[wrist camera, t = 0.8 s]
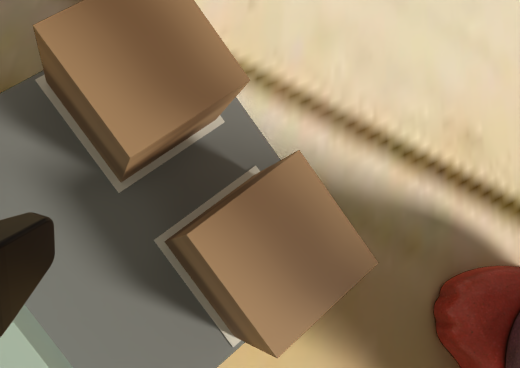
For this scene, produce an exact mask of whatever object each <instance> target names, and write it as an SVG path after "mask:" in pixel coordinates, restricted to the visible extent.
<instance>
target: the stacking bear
mask: <svg viewBox="0 0 520 368" xmlns="http://www.w3.org/2000/svg"><path fill="white" fill-rule="evenodd" d="M434 316H435V319H436V329H437V334H438V337H439V339H440V341H441V342H442V344H443V345H444V347H445V348H446V349H447V350H448V351H449V352H450V353H451V354H452V356H453V357H454V358H455V359H456V361H457V362H458V364H459V365H460V367H461V368H520V267H512V266H490V267H482V268H477V269H473V270H470V271H467V272H464V273H461V274H459V275H457V276H455V277H453V278H451V279H450V280H448V281H447V282H446V283H445V284H444V285H443V286H442V288H441V290H440V295H439V298H438V299H437V301H436V302H435V306H434Z"/></svg>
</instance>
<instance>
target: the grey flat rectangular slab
mask: <svg viewBox="0 0 520 368" xmlns="http://www.w3.org/2000/svg"><path fill="white" fill-rule="evenodd" d="M278 161H280V158H279V157H278V156H277V154H276V153H275V151H274V150H273V149H272V147H271V146H270V144H269V143H268V142H267V140H266V139H265V137H264V136H263V134H262V133H261V132H260V130H259V129H258V127H257V126H256V125H255V123H254V122H253V120H252V119H251V118H250V116H249V115H248V113H247V112H246V110H245V109H244V108H243V106H242V105H241V103H240V102H239V101H238V99H237V98H236V97H235V98H234V99H233V101H232V102H231V103H230V104H229V105H228V106H227V107H226V109H225V110H224V111H223V112H222V113H221V114H220V115H219V117H218V118H217V119H216V120H215V121H213V122H212V123H210V124H209V125H207V126H206V127H204V128H203V129H201V130H200V131H198V132H197V133H195V134H194V135H192V136H191V137H189V138H188V139H186V140H185V141H183V142H182V143H180V144H179V145H177V146H176V147H174V148H173V149H171V150H169V151H168V152H166V153H165V154H163V155H162V156H160V157H159V158H157V159H156V160H154V161H153V162H151V163H150V164H148V165H147V166H145V167H144V168H142V169H141V170H139V171H138V172H136V173H135V174H133V175H132V176H130V177H129V178H127V179H126V180H124V181H123V182H120V181H119V180H118V178H117V177H116V176H115V174H114V173H113V172H112V170H111V169H110V168H109V166H108V165H107V163H106V162H105V161H104V159H103V158H102V157H101V155H100V154H99V153H98V151H97V150H96V149H95V147H94V146H93V145H92V143H91V142H90V140H89V139H88V138H87V136H86V135H85V134H84V132H83V131H82V130H81V128H80V127H79V126H78V124H77V123H76V122H75V120H74V119H73V117H72V116H71V115H70V113H69V112H68V111H67V109H66V108H65V107H64V105H63V104H62V103H61V101H60V100H59V99H58V97H57V96H56V94H55V93H54V92H53V90H52V89H51V88H50V86H49V85H48V84H47V82H46V78H45V74H44V70H43V71H41V72H39V73H38V74H36V75H34V76H32V77H30V78H28V79H26V80H24V81H23V82H21V83H19V84H17V85H15V86H13V87H11V88H9V89H7V90H6V91H4V92H2V93H0V220H2V219H6V218H10V217H13V216H17V215H21V214H24V213H28V212H33V213H37V214H40V215H44V216H47V217H49V218H51V219H52V221H53V223H54V238H55V256H54V260H53V263H52V265H51V266H50V268H49V269H48V271H47V272H46V274H45V275H44V277H43V278H42V280H41V281H40V283H39V284H38V285H37V287H36V288H35V290H34V291H33V293H32V294H31V296H30V297H29V298H28V300H27V301H26V303H25V306H26V307H27V308H28V310H29V311H30V312H31V313H32V315H33V316H34V317H35V319H36V320H37V321H38V322H39V324H40V325H41V326H42V328H43V329H44V330H45V332H46V333H47V334H48V335H49V337H50V338H51V339H52V341H53V342H54V343H55V345H56V346H57V347H58V348H59V350H60V351H61V352H62V354H63V355H64V356H65V357H66V359H67V360H68V361H69V363H70V364H71V365H72V367H73V368H217V367H218V366H219V365H220V364H221V363H222V362H224V361H225V360H226V359H227V358H228V357H229V356H230V355H231V354H232V353H234V352H235V351H236V350H237V349H238V348H239V347H240V346H241V345H243V344H244V343H245V342H244V341H242V340H240V339H238V338H236V337H234V335H233V334H232V333H231V331H230V330H229V329H228V327H227V326H226V325H225V323H224V322H223V321H222V319H221V318H220V316H219V315H218V314H217V312H216V311H215V310H214V308H213V307H212V306H211V304H210V303H209V302H208V300H207V299H206V298H205V296H204V295H203V293H202V292H201V291H200V289H199V288H198V287H197V285H196V284H195V283H194V281H193V280H192V279H191V277H190V276H189V274H188V273H187V272H186V270H185V269H184V268H183V266H182V265H181V264H180V262H179V261H178V260H177V258H176V257H175V256H174V254H173V253H172V251H171V250H170V249H169V247H168V246H167V245H166V243H165V242H164V241H166V240H167V239H168V238H170V237H171V236H172V235H174V234H175V233H176V232H178V231H179V230H181V229H182V228H183V227H185V226H186V225H187V224H189V223H190V222H191V221H193V220H194V219H195V218H197V217H198V216H199V215H201V214H202V213H203V212H205V211H206V210H207V209H209V208H210V207H212V206H213V205H214V204H216V203H217V202H218V201H220V200H221V199H222V198H224V197H225V196H226V195H228V194H229V193H230V192H232V191H233V190H234V189H236V188H237V187H239V186H240V185H241V184H243V183H244V182H245V181H247V180H248V179H249V178H251V177H252V176H253V175H255V174H256V173H258V172H260V171H262V170H264V169H266V168H267V167H269V166H271V165H273V164H275V163H277V162H278Z"/></svg>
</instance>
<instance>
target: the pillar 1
mask: <svg viewBox="0 0 520 368" xmlns="http://www.w3.org/2000/svg"><path fill="white" fill-rule="evenodd" d="M33 28H34V32H35V36H36V40H37V45H38V49H39V53H40V57H41V62H42V66H43V70H44V74H45V78H46V82H47V84H48V85H49V86H50V88H51V89H52V90H53V92H54V93H55V94H56V96H57V97H58V99H59V100H60V101H61V103H62V104H63V105H64V107H65V108H66V109H67V111H68V112H69V113H70V115H71V116H72V117H73V119H74V120H75V122H76V123H77V124H78V126H79V127H80V128H81V130H82V131H83V132H84V134H85V135H86V136H87V138H88V139H89V140H90V142H91V143H92V145H93V146H94V147H95V149H96V150H97V151H98V153H99V154H100V155H101V157H102V158H103V159H104V161H105V162H106V163H107V165H108V166H109V168H110V169H111V170H112V172H113V173H114V174H115V176H116V177H117V178H118V180H119V181H120V182H123V181H124V180H126V179H127V178H129V177H130V176H132V175H133V174H135V173H136V172H138V171H139V170H141V169H142V168H144V167H145V166H147V165H148V164H150V163H151V162H153V161H154V160H156V159H157V158H159V157H160V156H162V155H163V154H165V153H166V152H168V151H169V150H171V149H173V148H174V147H176V146H177V145H179V144H180V143H182V142H183V141H185V140H186V139H188V138H189V137H191V136H192V135H194V134H195V133H197V132H198V131H200V130H201V129H203V128H204V127H206V126H207V125H209V124H210V123H212V122H213V121H215V120H216V119H217V118H218V117H219V115H220V114H221V113H222V112H223V111H224V110H225V109H226V107H227V106H228V105H229V104H230V103H231V102H232V101H233V99H234V98H235V97H236V96H237V95H238V94H239V93H240V91H241V90H242V89H243V88H244V87H245V86H246V84H247V83H248V82H249V81H250V79H249V78H248V76H247V75H246V74H245V72H244V71H243V69H242V68H241V67H240V65H239V64H238V62H237V61H236V59H235V58H234V57H233V55H232V54H231V52H230V51H229V49H228V48H227V47H226V45H225V44H224V42H223V41H222V40H221V38H220V37H219V35H218V34H217V32H216V31H215V30H214V28H213V27H212V25H211V24H210V22H209V21H208V20H207V18H206V17H205V15H204V14H203V13H202V11H201V10H200V8H199V7H198V5H197V4H196V3H195V1H194V0H83V1H81V2H79V3H77V4H75V5H73V6H71V7H69V8H67V9H65V10H63V11H61V12H59V13H57V14H55V15H52V16H50V17H48V18H46V19H44V20H42V21H40V22H38V23H36V24H34V25H33Z"/></svg>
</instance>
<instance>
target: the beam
mask: <svg viewBox="0 0 520 368" xmlns="http://www.w3.org/2000/svg"><path fill="white" fill-rule="evenodd" d="M0 368H73V367H72V365H71V364H70V363H69V361H68V360H67V359H66V357H65V356H64V355H63V354H62V352H61V351H60V350H59V348H58V347H57V346H56V345H55V343H54V342H53V341H52V339H51V338H50V337H49V335H48V334H47V333H46V332H45V330H44V329H43V328H42V326H41V325H40V324H39V322H38V321H37V320H36V319H35V317H34V316H33V315H32V313H31V312H30V311H29V310H28V308H27V307H26V306H25V304H24V306H23V307H22V309H21V310H20V311H19V313H18V314H17V316H16V317H15V319H14V320H13V322H12V323H11V324H10V326H9V327H8V328H7V330H6V331H5V332H4V334H3V335H2V336H1V337H0Z"/></svg>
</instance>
